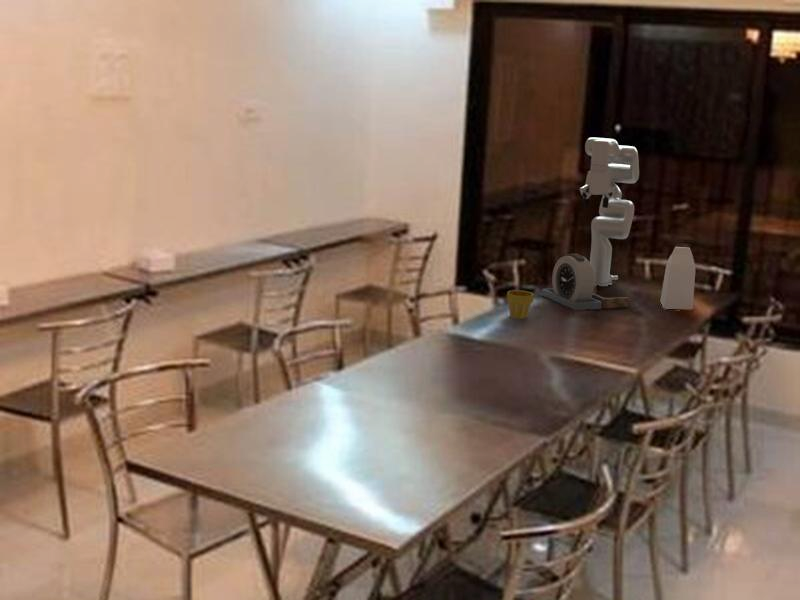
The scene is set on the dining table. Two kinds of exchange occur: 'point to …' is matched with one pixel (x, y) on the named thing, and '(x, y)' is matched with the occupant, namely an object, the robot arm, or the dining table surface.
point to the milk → (679, 280)
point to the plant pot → (519, 303)
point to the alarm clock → (573, 278)
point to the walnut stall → (610, 300)
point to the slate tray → (576, 306)
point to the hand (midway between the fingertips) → (595, 207)
